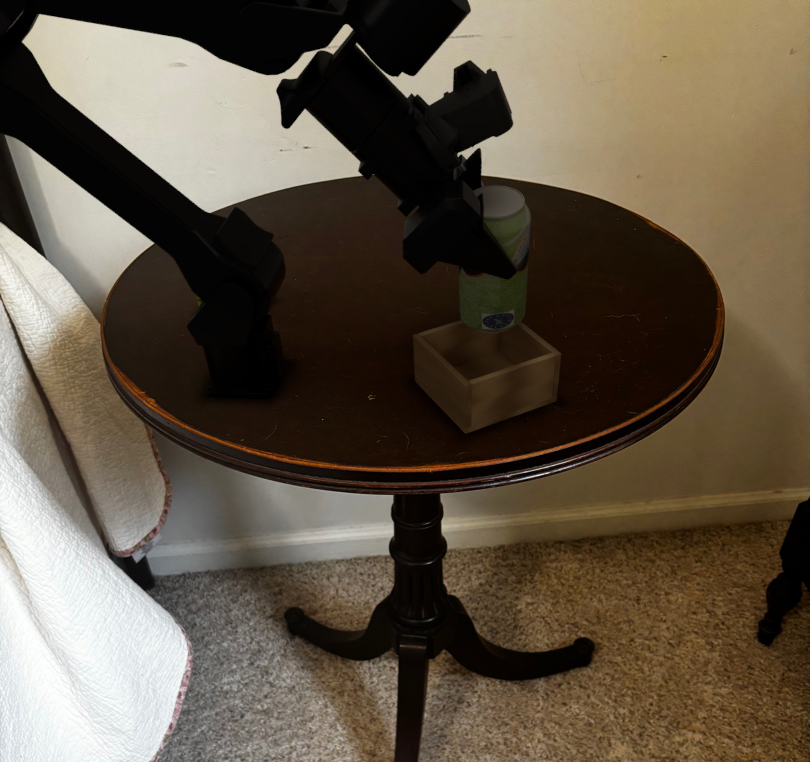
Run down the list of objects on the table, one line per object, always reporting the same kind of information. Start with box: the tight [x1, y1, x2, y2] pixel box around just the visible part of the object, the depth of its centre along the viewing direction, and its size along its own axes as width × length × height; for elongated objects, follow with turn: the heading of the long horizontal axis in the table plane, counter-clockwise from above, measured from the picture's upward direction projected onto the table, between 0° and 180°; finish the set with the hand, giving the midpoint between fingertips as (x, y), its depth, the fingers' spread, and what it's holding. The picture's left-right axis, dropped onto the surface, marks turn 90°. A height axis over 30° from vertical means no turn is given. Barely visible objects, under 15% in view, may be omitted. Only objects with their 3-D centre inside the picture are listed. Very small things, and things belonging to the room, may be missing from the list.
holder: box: [412, 319, 562, 435], centre depth 74 cm, size 10×10×5 cm
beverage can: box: [458, 185, 532, 333], centre depth 69 cm, size 6×7×12 cm
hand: (511, 258), depth 68 cm, fingers closed on beverage can, 6 cm apart
